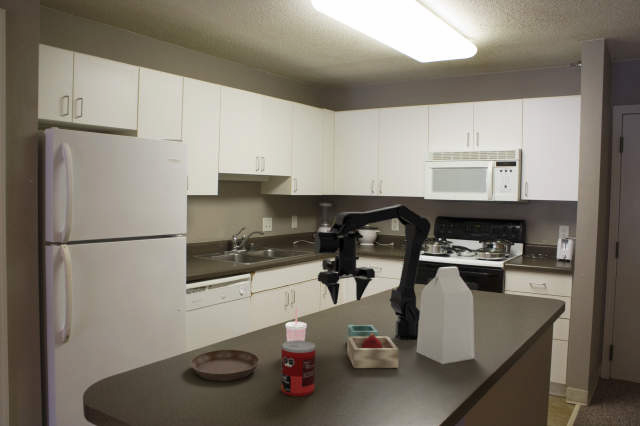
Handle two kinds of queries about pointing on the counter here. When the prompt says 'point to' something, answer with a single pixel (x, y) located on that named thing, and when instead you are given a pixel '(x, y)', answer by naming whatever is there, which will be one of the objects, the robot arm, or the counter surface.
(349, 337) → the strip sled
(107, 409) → the counter surface
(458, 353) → the milk
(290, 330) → the beverage cup
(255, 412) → the counter surface
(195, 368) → the plant saucer
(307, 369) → the canned food
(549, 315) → the counter surface
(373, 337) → the onion
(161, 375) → the counter surface
